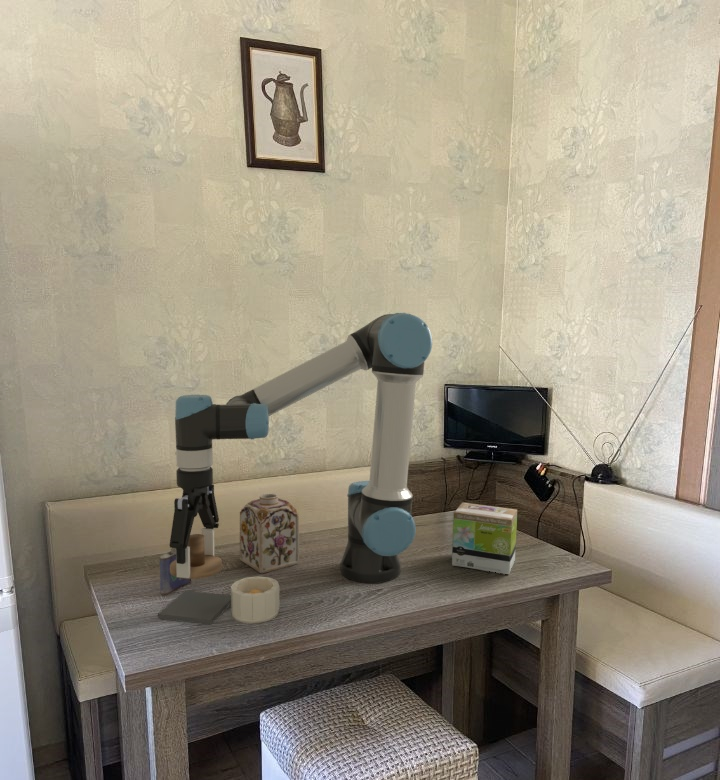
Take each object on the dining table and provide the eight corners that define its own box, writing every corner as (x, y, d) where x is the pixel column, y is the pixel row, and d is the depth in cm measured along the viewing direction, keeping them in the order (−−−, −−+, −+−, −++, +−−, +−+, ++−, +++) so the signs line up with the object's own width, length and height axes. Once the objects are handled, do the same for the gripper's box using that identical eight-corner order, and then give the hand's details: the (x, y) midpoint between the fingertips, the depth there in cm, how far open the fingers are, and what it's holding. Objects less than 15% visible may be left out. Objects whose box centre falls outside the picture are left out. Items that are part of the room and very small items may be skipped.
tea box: (451, 567, 162) (452, 511, 160) (459, 554, 171) (461, 501, 169) (510, 576, 156) (512, 518, 154) (516, 562, 165) (517, 507, 164)
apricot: (267, 605, 137) (267, 587, 136) (260, 613, 133) (260, 595, 132) (250, 603, 137) (249, 585, 137) (243, 611, 134) (242, 593, 133)
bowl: (284, 604, 139) (284, 578, 138) (269, 625, 129) (269, 597, 129) (242, 600, 141) (242, 574, 140) (224, 620, 131) (223, 593, 131)
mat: (234, 599, 142) (234, 595, 141) (211, 624, 130) (211, 619, 130) (185, 594, 144) (185, 590, 144) (158, 618, 132) (158, 613, 132)
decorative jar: (260, 575, 156) (259, 504, 154) (238, 561, 165) (237, 494, 163) (300, 564, 163) (300, 496, 161) (277, 551, 172) (277, 487, 170)
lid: (230, 561, 140) (229, 530, 139) (208, 581, 129) (208, 547, 129) (185, 557, 142) (184, 527, 142) (160, 576, 132) (159, 543, 131)
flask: (165, 596, 143) (164, 551, 142) (156, 593, 144) (155, 548, 143) (194, 582, 151) (193, 539, 150) (185, 580, 152) (184, 537, 151)
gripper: (202, 455, 146) (204, 546, 148) (149, 479, 123) (152, 586, 125) (233, 457, 144) (234, 549, 147) (184, 481, 122) (186, 590, 124)
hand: (196, 566), depth 136 cm, fingers closed on lid, 11 cm apart
